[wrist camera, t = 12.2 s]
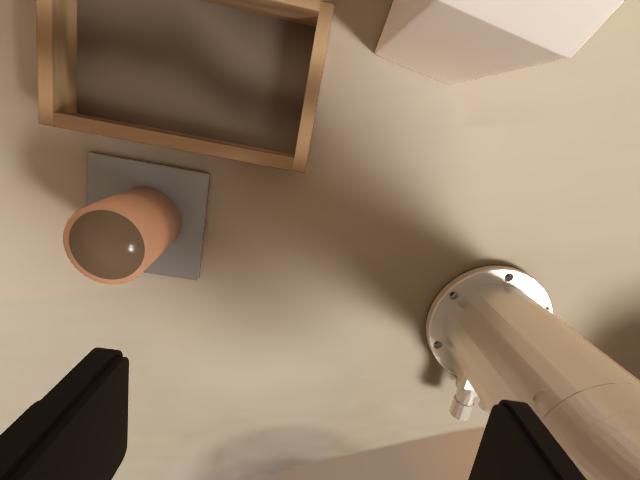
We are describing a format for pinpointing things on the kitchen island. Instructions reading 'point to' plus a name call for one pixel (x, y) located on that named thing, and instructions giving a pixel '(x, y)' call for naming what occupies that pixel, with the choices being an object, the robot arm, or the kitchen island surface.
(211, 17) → the box
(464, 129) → the kitchen island surface
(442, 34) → the milk carton
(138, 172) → the slate tile
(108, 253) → the pot
